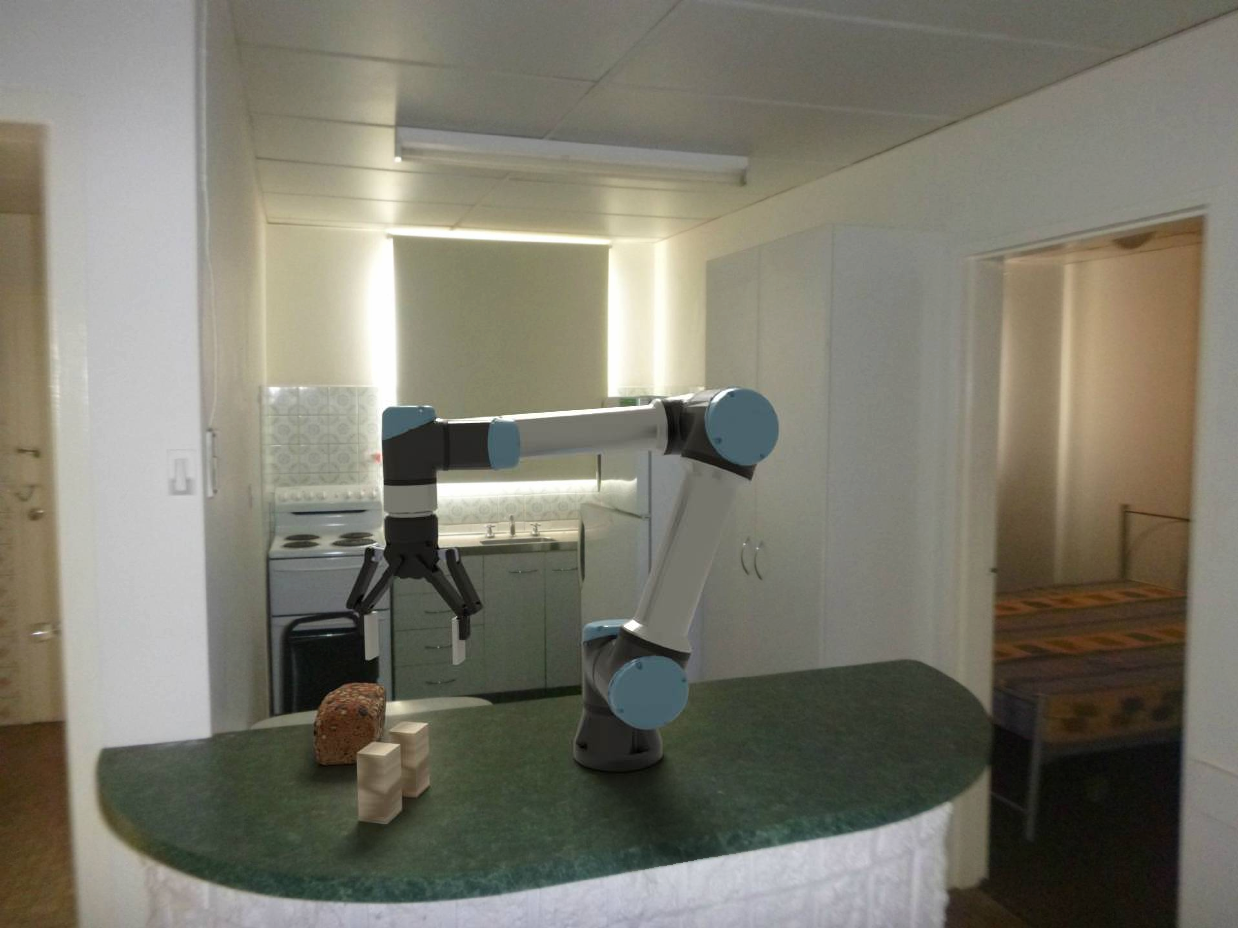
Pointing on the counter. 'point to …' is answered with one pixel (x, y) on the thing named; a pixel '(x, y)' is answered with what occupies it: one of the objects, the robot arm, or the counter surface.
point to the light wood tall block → (412, 756)
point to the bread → (349, 722)
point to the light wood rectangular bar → (379, 782)
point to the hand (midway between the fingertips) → (415, 659)
